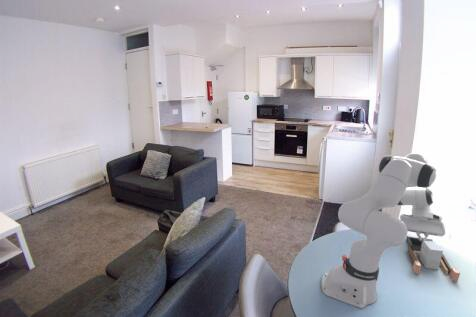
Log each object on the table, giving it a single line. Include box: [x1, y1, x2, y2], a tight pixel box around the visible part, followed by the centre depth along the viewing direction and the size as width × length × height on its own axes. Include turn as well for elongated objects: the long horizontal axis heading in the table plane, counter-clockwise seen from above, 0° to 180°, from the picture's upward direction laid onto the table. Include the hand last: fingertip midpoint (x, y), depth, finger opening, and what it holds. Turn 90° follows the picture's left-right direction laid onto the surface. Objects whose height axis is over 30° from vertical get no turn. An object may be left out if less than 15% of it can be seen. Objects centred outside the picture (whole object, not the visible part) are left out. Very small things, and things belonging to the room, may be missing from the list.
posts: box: [412, 261, 461, 283], centre depth 127 cm, size 17×3×5 cm, turn 71°
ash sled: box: [412, 237, 448, 275], centre depth 136 cm, size 12×14×9 cm
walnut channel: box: [407, 245, 453, 276], centre depth 137 cm, size 15×14×3 cm
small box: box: [418, 241, 444, 270], centre depth 135 cm, size 8×6×10 cm
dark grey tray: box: [405, 235, 422, 252], centre depth 148 cm, size 12×9×3 cm
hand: (422, 241), depth 146 cm, fingers closed
